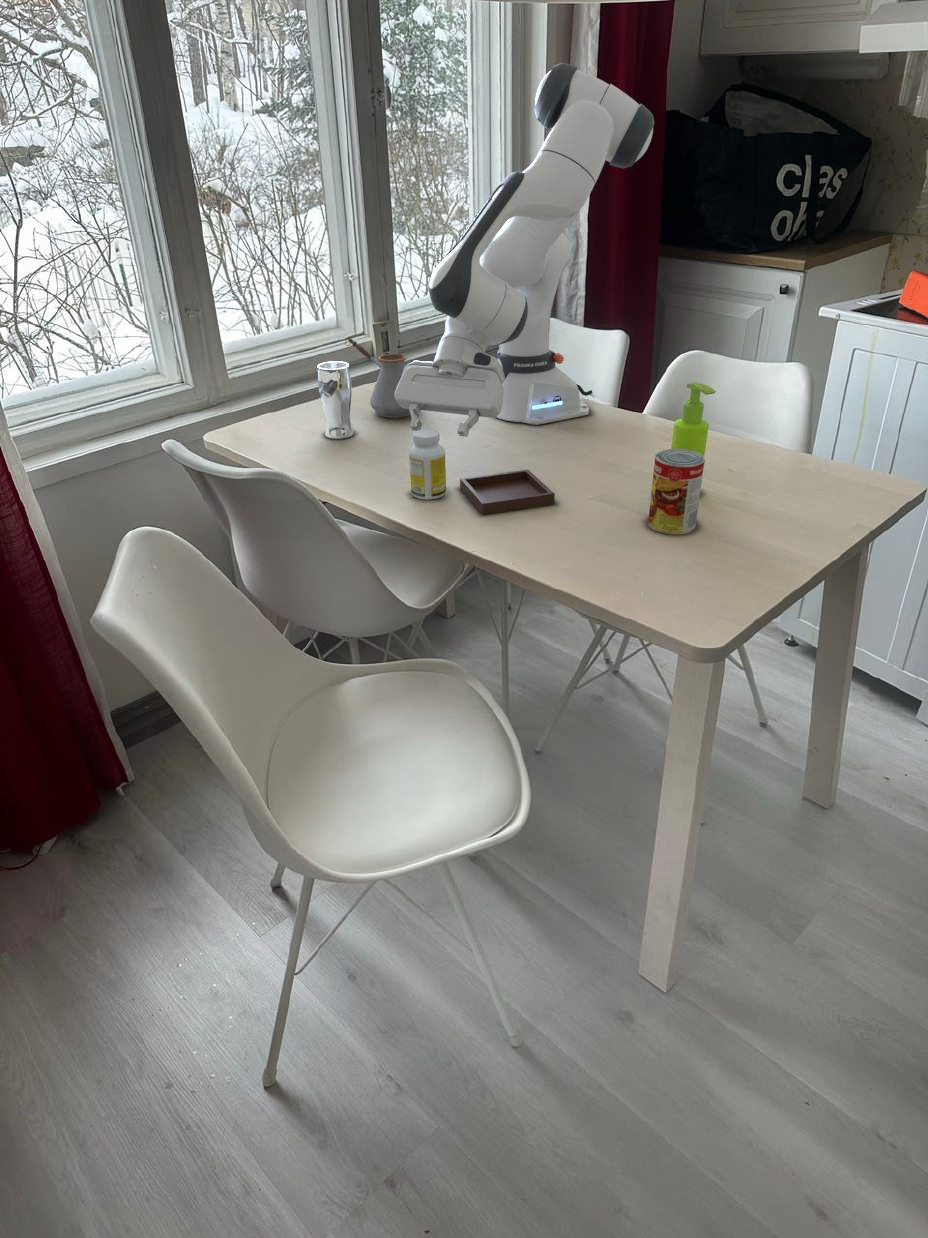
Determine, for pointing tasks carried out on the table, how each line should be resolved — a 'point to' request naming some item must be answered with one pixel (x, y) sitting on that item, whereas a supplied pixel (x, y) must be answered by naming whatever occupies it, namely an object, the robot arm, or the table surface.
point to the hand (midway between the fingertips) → (438, 432)
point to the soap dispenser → (692, 422)
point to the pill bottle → (427, 465)
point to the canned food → (675, 491)
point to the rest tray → (506, 492)
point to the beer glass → (336, 398)
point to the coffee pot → (386, 383)
